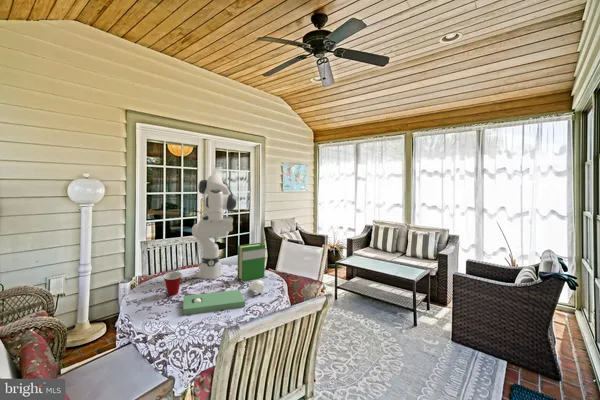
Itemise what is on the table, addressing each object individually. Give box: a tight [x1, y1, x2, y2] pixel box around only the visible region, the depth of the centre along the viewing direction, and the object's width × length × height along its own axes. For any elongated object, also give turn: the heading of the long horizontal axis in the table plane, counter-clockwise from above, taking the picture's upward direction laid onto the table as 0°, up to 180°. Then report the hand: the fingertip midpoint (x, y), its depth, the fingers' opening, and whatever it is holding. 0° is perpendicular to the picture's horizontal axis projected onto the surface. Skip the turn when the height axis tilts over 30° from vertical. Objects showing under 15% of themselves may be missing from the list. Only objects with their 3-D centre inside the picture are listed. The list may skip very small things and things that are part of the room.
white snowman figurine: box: [248, 279, 265, 296], centre depth 181 cm, size 6×8×12 cm
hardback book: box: [237, 242, 266, 283], centre depth 207 cm, size 18×7×24 cm, turn 127°
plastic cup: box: [162, 271, 183, 296], centre depth 175 cm, size 11×11×12 cm
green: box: [182, 289, 246, 316], centre depth 163 cm, size 18×32×3 cm, turn 112°
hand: (215, 239), depth 175 cm, fingers closed
